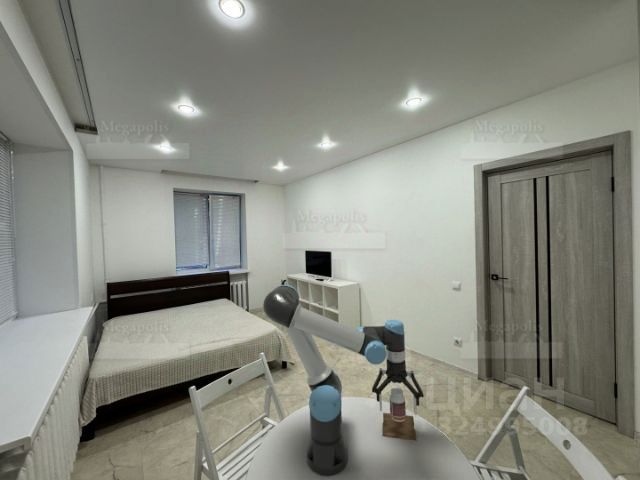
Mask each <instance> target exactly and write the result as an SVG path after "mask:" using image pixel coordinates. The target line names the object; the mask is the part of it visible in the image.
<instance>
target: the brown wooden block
mask: <svg viewBox="0 0 640 480" xmlns="http://www.w3.org/2000/svg"><path fill="white" fill-rule="evenodd" d="M382 420H383V422H382V425H381V426H382V427H381V429H382V431H381V432H382V435H381V436H382V437H385V438H386V437H387V438H394V439H400V440H408V441H413V442H414V441H415V442H417V435H416V434H417V433H416V428H415V429H414V426H415V419H414V416H413V415H407V414H406V419H405V420H404V421H403V422H397V421H394V420H393V419H392V418H391V416H390V412H389V413H387V412H382Z"/></svg>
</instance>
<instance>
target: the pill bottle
mask: <svg viewBox="0 0 640 480" xmlns="http://www.w3.org/2000/svg"><path fill="white" fill-rule="evenodd" d="M406 410H407V409H406V398H405V395H404V390H403V389H402V388H399V387H392V388H391V390H390V394H389V413H390V416H391V418H392V419H393V420H394V421H397V422H403V421H404V420H405V419H406V415H407V411H406Z"/></svg>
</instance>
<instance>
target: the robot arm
mask: <svg viewBox="0 0 640 480" xmlns="http://www.w3.org/2000/svg"><path fill="white" fill-rule="evenodd" d="M262 307H263V311H264V314H265V315H266V317H267V318H269V319H270V320H271V321H273V322H274V323H276V324H279V325H280V326H282V327H284V329H285V330H286V333H287V335H288V337H289V339H290V341H291V344H292V345H293V348H294V350H295V351H296V353H297V357H298V358H299V360H300V362H301V364H302V366H303V368H304V371H305V372H306V374H307V376H308V377H307V380H306V383H307V384H308V387H309V389H310V391H311V393H310V395H309V401H308V408H309V421H310V438H309V442H308V446H307V450H306V462H307V465H308V467H309V468H310V469H311V470H312V471H313V472H314V473H316V474H319V475H321V476H333V475H337V474H338V473H340V472H342V471H343V470H344V468H346V466H347V464H348V462H349V451H348V446H347V444H346V442H345V439H344V436H343V417H342V415H343V414H342V405H343V404H342V390H343V386H342V382H341V378H340V377H339V375H338V373H336V372H335V371H334V370H333V368H332V367H331V366H330V365H327V364H326V362H325V360H324V358H323V355H322V354H321V352H320V350H319V348H318V346H317V343H316V341H315V339H314V337H313V336H315V337H317V338H320V339H322V340H324V341H327V342H329V343H332V344H334V345H337V346H339V347H341V348H344V349H347V351H348V350H349V351H351V352H353V353H356V354H359V355H361V356H362V357H365V359H366V360H367V362H368V363H370V364H372V365H374V366H375V365H377V366H378V365H381V364H382V363H384V362H386V370H385V369H382V368H378V369H379V370H378V375H377V377H376V379H375V380H374V383H373V385H372V387H371V392H372V393H375V396H376V401H377V402H378V403H379V411H380V412H383V411H382V410H383V403H382V392H383V391H384V390H385V388H386V387H387V386H388V385H389V384H390V383H393V384H396V383H397V384H402V383H403V385H404V386H406V388H407V389H408V390H409V391H410V392H411V394H412V395H413V410H414V412H413V413H414V415H415V416H417V415H418V413H417V406H418V407H419V406H420V398H424V396H425V395H424V392H423V389H422V388H421V386H420V384H419V382H418V381H417V379H416V377H415V371H414V370H410V371H407V366H406V365H407V364H406V363H407V362H406V344H405V342H406V341H405V335H406V333H405V326H404V323H403V322H402V321H401V320H398V319H388V320H386V321H385V322H384V325H381V326H379V325H375V326H372V325H370V326H368V325H367V326H366V325H363V326H357V327H356V328H353V327H350V326H348V325H345V324H344V323H340V322H339V321H336V320H334V319H331V318H328V317H326V316H324V315H321V314H320V313H316V312H314V311H311V310H310V309H307V308H305V307H303V306H302V304H301V303H300V296H299V293H298V291H297V289H296V288H295V287H293V286H292V285H289V284H282V285H278V286H277V287H276V288H274V289H273V290H272V291H270V292H269V293H268V294H267V295H266V296H265V297H264V299H263V304H262ZM385 360H386V361H385ZM384 375H386V377H385V379H384V380H383V382H382V383H380V382H381V380H382V378H383V377H384ZM407 377H409V378H410V379H411V381H412V383H413V385H414V386H413V385H412V384H411V383H410V382H409V381H408V379H407ZM379 383H380V385H379ZM414 387H415V388H414Z"/></svg>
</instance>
